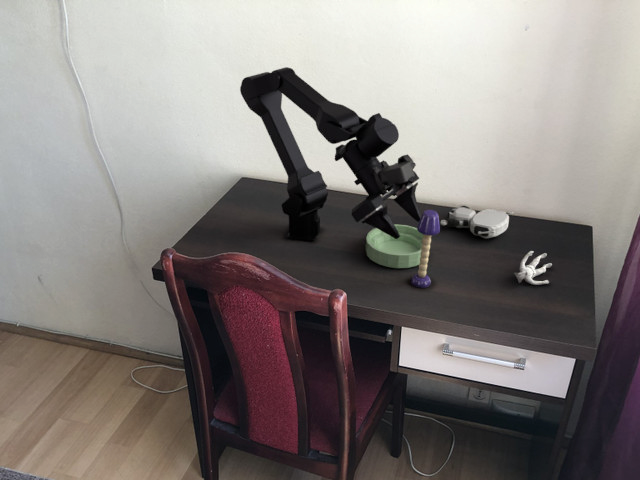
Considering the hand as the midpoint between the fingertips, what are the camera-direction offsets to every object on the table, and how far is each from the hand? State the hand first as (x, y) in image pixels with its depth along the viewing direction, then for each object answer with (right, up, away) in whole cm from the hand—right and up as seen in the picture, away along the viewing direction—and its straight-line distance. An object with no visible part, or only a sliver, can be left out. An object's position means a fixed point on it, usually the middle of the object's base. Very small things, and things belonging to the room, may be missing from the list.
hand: (409, 229), depth 143 cm
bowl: (-1, -4, +15) cm, 15 cm away
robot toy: (+19, +2, +25) cm, 31 cm away
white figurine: (+27, -10, +7) cm, 30 cm away
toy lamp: (+3, -11, +5) cm, 13 cm away
